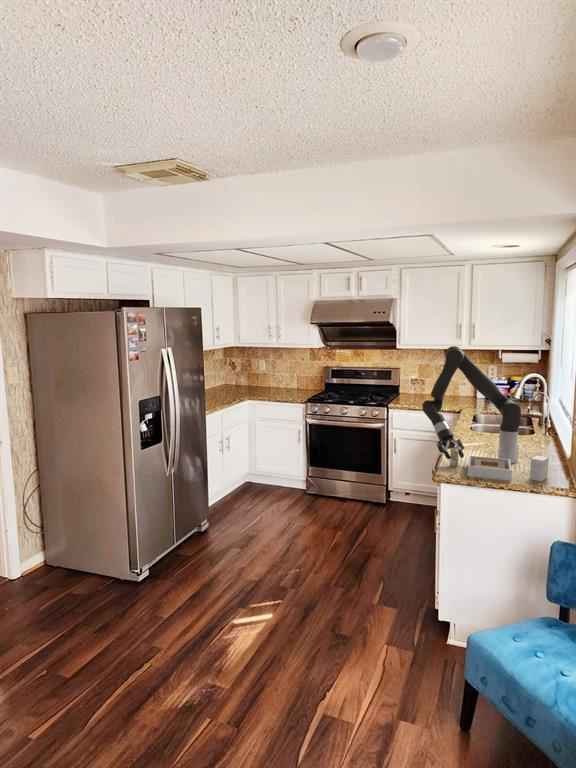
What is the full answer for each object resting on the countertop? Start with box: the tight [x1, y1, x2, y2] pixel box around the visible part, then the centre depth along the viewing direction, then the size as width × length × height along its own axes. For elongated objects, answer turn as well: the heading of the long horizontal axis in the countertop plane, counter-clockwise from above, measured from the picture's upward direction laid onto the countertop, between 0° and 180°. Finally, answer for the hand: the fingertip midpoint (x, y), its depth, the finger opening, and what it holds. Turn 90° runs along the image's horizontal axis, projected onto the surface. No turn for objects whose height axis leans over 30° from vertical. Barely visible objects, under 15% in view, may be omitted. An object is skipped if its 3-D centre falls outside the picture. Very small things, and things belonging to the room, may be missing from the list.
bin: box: [466, 455, 513, 482], centre depth 262 cm, size 20×20×6 cm
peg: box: [449, 449, 459, 469], centre depth 273 cm, size 4×4×9 cm
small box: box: [529, 455, 549, 482], centre depth 253 cm, size 8×6×10 cm
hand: (455, 457), depth 271 cm, fingers open, 8 cm apart
